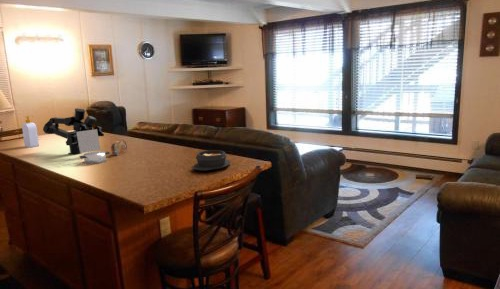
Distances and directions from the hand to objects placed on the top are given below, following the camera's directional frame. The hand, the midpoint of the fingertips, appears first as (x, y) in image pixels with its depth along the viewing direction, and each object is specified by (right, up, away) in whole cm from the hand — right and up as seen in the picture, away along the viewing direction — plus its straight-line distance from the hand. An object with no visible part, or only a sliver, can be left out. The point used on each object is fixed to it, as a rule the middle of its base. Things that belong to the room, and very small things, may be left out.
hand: (98, 134), depth 238 cm
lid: (-2, -4, -8) cm, 9 cm away
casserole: (+75, -19, -32) cm, 84 cm away
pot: (+3, -17, -11) cm, 20 cm away
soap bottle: (-67, -8, +45) cm, 81 cm away
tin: (+10, -13, +10) cm, 19 cm away
